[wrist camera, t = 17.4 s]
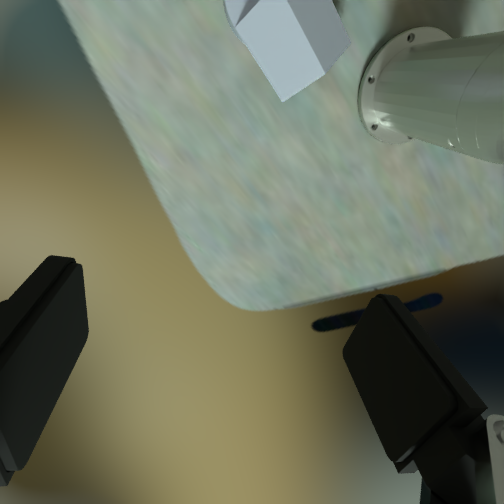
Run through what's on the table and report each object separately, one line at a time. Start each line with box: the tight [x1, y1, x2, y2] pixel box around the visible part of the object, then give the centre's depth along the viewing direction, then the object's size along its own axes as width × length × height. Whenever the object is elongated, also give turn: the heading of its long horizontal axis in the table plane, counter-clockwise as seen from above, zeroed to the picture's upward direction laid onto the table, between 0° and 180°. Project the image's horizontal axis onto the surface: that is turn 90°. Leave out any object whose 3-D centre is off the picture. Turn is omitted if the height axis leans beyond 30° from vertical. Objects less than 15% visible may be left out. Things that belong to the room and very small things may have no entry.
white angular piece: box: [223, 0, 351, 103], centre depth 28 cm, size 9×7×13 cm
